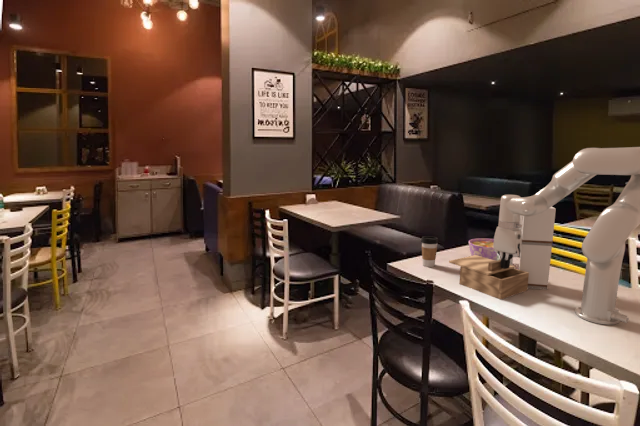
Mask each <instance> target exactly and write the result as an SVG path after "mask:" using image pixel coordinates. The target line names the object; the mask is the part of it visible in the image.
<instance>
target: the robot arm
mask: <svg viewBox="0 0 640 426" xmlns="http://www.w3.org/2000/svg"><path fill="white" fill-rule="evenodd" d="M597 175H598V176H599V175H605V176H606V175H608V176H609V175H610V176H614V175H615V176H630V179H629V180H628V182H627V183H626V185H625V186H624V187H623V189H622V191H621V192H620V194H619V196H618V197H617V199H616V200H615V202H613V204H612V205H610V206H608V207H606V208H604V209H603V211H602V212H600V214H599V215H598V217H597V219H596V221H595V222H594V223H593V225H592V226H591V228H590V230H589V231H588V233H587V235H586V236H585V237H584V239H583V242H582V243H581V252H582V254H583V256H584V257H585V258H586V259H587V260H586V266H585V272H584V280H583V288H582V297H581V305H580V306H578V307H576V308H575V310H574V311H575V315H577V316H578V317H579V318H581V319H583V320H585V321H588V322H590V323H595V324H599V325H609V326H610V325H611V326H612V325H617V324H618V323H620V322H623V323H625V324H628V323H629V321H630V320H629V319H630V318H629V317H628V315H627V314H624V313H620V312H619V307H616V304H617V297H618V290H619V282H620V277H621V270H622V265H623V261H624V260H623V259H624V256H625V251H626V241H627V239H629V237H630V235H631V234H632V232H633V231H634V230H635V229H637V228H638V227H639V225H640V146H632V147H631V146H630V147H602V148H601V147H586V148H582V149H581V150H579V151H578V152H577V153H575V155H574V156H573V159H572V160H571V161H570V162H569V163H567V164H566V165H565V166H564V167H562V168H561V169H559V170H558V171H556V172H555V173H554V174H553V175H552V178H551V181H550V182H549V183H548V184H547V185H546V186H545V187H543V188H542V189H539V191H538V192H536V193H535V194H533V195H531V196H524V197H521V196H520V195H517V194H504V195H501V197H500V204H499V205H500V206H499V213H498V224H497V225H498V226H496V229H495V232H494V236H493V239H494V243H493V247H494V251H495V252H496V253H498V254H499V256H500V258H501V268H503V269H507V268H509V266H510V259H512V258H520V252H521V250H522V234H521V230H520V229H519V228H521V227H522V225H521V224H520V222H519V221H520V215H522V216H528V217H529V216H534V215H536V214H540V213H542V212H544V211H546V210H547V209H549V208H550V207H553V206H554V205H556V204H557V203H559V202H560V201H561V200H563V199H565V197H567V196H569V195H571V193H572V192H575V190H577V189H578V188H579V187H581V186H582V185H584V184H586V183H587V182H588V181H589V180H591V179H592V178H594V177H595V176H597Z"/></svg>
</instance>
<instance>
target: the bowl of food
mask: <svg viewBox="0 0 640 426" xmlns="http://www.w3.org/2000/svg"><path fill="white" fill-rule="evenodd" d="M493 243H494V238H479V237H478V238H472V239H469V240H468V246H469V252H470V256H473V255H477V256H481V257H484V258H488V259H491V260H495V261H497V253H496V252H495V251H494V247H493Z"/></svg>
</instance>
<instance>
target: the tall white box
mask: <svg viewBox="0 0 640 426" xmlns="http://www.w3.org/2000/svg"><path fill="white" fill-rule="evenodd" d="M556 209H557V208H555V207H553V206H552V207H550V208H549V209H547V210H546V211H544V212H542V213H540V214H536V215H534V216H529V217H528V216H522V215H520V221H519V222H520V224H521V225H522V227H521V228H519V229H520V230H521V234H522V250H521V252H520V253H519V262H518V263H519V264H518V269H519V270H522V271H525V272H529V277H528V288H527V289H534V290H545V291H547V290H549V289H548V287H549V286H548V285H549V278H550V267H551V259H552V250H553V248H552V247H553V240H554V231H555V222H556V221H555V219H556Z"/></svg>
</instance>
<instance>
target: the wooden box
mask: <svg viewBox="0 0 640 426" xmlns="http://www.w3.org/2000/svg"><path fill="white" fill-rule="evenodd" d="M459 267H460V268H459V269H460V270H459V285H461V286H464V287H467V288H469V289H471V288H472V290H475V291H477V292H480V293H482V294H485V295H488V296H491V297H493V298H495V299H498V300H503V299H506V298H509V297H512V296H515V295H519V294H522V293H525V292H527V291H528V289H529V288H528V277H529V272H525V271H522V270H519V268H516V267H515V268H513V269H509V270H506V271H502V272H498V273H495V274H491V275H486V274H483V273H479V272H476V271H473V270H470V269H467V268H464V267H461V266H459Z"/></svg>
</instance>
